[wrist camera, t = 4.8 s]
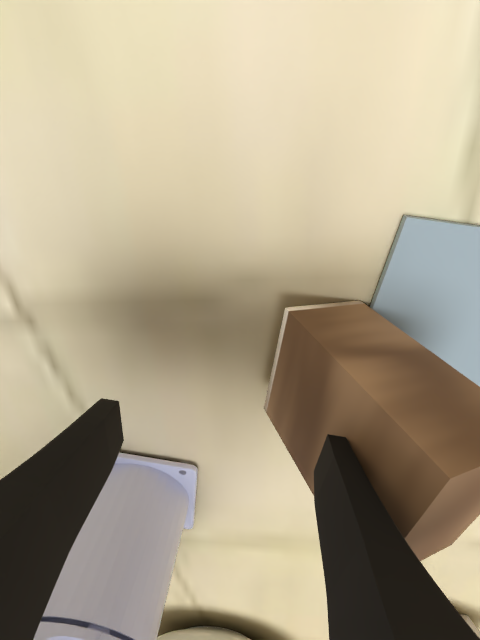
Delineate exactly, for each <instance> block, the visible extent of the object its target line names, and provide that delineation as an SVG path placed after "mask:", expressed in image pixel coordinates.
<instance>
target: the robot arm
mask: <svg viewBox="0 0 480 640" xmlns="http://www.w3.org/2000/svg"><path fill="white" fill-rule="evenodd" d="M123 441H124V439H123V431H122V423H121V414H120V406H119V401H114V400H108V399H100V400H99V401H98V402H97V403H95V404H94V405H93V406H92V407H91V408H90V409H88V410H87V411H86V412H85V413H84V414H83V415H82V416H80V417H79V418H78V419H77V420H76V421H75V422H73V423H72V424H71V425H70V426H69V427H68V428H66V429H65V430H64V431H63V432H62V433H60V434H59V435H58V436H57V437H56V438H54V439H53V440H52V441H51V442H49V443H48V444H47V445H46V446H45V447H43V448H42V449H41V450H40V451H38V452H37V453H36V454H34V455H33V456H32V457H30V458H29V459H28V460H27V461H25V462H24V463H23V464H21V465H20V466H19V467H17V468H16V469H15V470H13V471H12V472H11V473H9V474H8V475H6V476H5V477H4V478H2V479H1V480H0V640H157V636H158V631H159V627H160V623H161V619H162V615H163V611H164V606H165V602H166V598H167V594H168V590H169V586H170V581H171V577H172V573H173V569H174V565H175V560H176V556H177V552H178V548H179V544H180V540H181V535H182V531H183V528H184V529H191V528H193V525H194V515H195V502H196V488H197V475H198V469H197V467H196V466H194V465H191V464H186V463H180V462H174V461H168V460H161V459H155V458H149V457H143V456H137V455H131V454H125V453H119V451H120V449H121V446H122V443H123ZM314 501H315V510H316V518H317V525H318V533H319V540H320V547H321V554H322V561H323V569H324V576H325V584H326V593H327V606H328V624H329V640H480V638H479V637H478V636H477V635H476V633H475V632H474V631H473V630H472V629H471V627H470V626H469V625H468V624H467V622H466V621H465V620H464V619H463V618H462V616H461V615H460V614H459V613H458V611H457V610H456V609H455V608H454V606H453V605H452V604H451V603H450V601H449V600H448V599H447V597H446V596H445V595H444V593H443V592H442V591H441V589H440V588H439V587H438V585H437V584H436V583H435V581H434V580H433V579H432V577H431V576H430V575H429V573H428V572H427V570H426V569H425V568H424V566H423V565H422V563H421V562H420V561H419V559H418V558H417V556H416V555H415V553H414V552H413V551H412V549H411V548H410V546H409V545H408V543H407V542H406V540H405V539H404V537H403V535H402V534H401V532H400V531H399V529H398V528H397V526H396V525H395V523H394V522H393V520H392V518H391V517H390V515H389V513H388V512H387V510H386V509H385V507H384V505H383V503H382V502H381V500H380V498H379V497H378V495H377V493H376V492H375V490H374V488H373V486H372V485H371V483H370V481H369V479H368V477H367V476H366V474H365V472H364V470H363V468H362V466H361V465H360V463H359V461H358V459H357V457H356V455H355V453H354V451H353V449H352V447H351V445H350V443H349V441H348V440H347V438H346V437H342V436H336V435H329V434H327V437H326V440H325V442H324V445H323V448H322V450H321V453H320V456H319V458H318V461H317V464H316V466H315V469H314Z"/></svg>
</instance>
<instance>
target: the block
mask: <svg viewBox="0 0 480 640" xmlns="http://www.w3.org/2000/svg"><path fill="white" fill-rule="evenodd" d="M264 409H265V411H266V413H267V415H268V416H269V418H270V420H271V422H272V423H273V425H274V427H275V429H276V430H277V432H278V434H279V436H280V437H281V439H282V441H283V443H284V444H285V446H286V448H287V450H288V451H289V453H290V455H291V457H292V458H293V460H294V462H295V464H296V465H297V467H298V469H299V471H300V472H301V474H302V476H303V478H304V479H305V481H306V483H307V485H308V486H309V488H310V490H311V492H312V493H313V495H314V469H315V466H316V464H317V461H318V458H319V456H320V453H321V450H322V448H323V445H324V442H325V440H326V437H327V434H329V435H336V436H342V437H346V438H347V440H348V441H349V443H350V445H351V447H352V449H353V451H354V453H355V455H356V457H357V459H358V461H359V463H360V465H361V466H362V468H363V470H364V472H365V474H366V476H367V477H368V479H369V481H370V483H371V485H372V486H373V488H374V490H375V492H376V493H377V495H378V497H379V498H380V500H381V502H382V503H383V505H384V507H385V509H386V510H387V512H388V513H389V515H390V517H391V518H392V520H393V522H394V523H395V525H396V526H397V528H398V529H399V531H400V532H401V534H402V535H403V537H404V539H405V540H406V542H407V543H408V545H409V546H410V548H411V549H412V551H413V552H414V553H415V555H416V556H417V558H418V559H419V561H421V560H423V559H425V558H427V557H429V556H431V555H433V554H435V553H437V552H439V551H440V550H442V549H444V548H446V547H448V546H450V545H452V544H453V543H454V541H455V540H456V539H457V538H458V537H459V536H460V535H461V534H462V533H463V532H464V531H465V530H466V529H467V527H468V526H469V525H470V524H471V523H472V522H473V521H474V520H475V519H476V518H477V517H478V516H479V515H480V387H479V386H478V385H477V384H475V383H474V382H472V381H471V380H470V379H468V378H467V377H466V376H464V375H463V374H461V373H460V372H459V371H457V370H456V369H454V368H453V367H452V366H450V365H449V364H448V363H446V362H445V361H443V360H442V359H441V358H439V357H438V356H436V355H435V354H434V353H432V352H431V351H429V350H428V349H427V348H425V347H424V346H423V345H421V344H420V343H418V342H417V341H416V340H414V339H413V338H411V337H410V336H409V335H407V334H406V333H405V332H403V331H402V330H400V329H399V328H398V327H396V326H395V325H393V324H392V323H391V322H389V321H388V320H387V319H385V318H384V317H382V316H381V315H380V314H378V313H377V312H375V311H374V310H373V309H371V308H370V307H369V306H367V305H366V304H364V303H363V302H362V301H360V300H359V301H349V302H338V303H328V304H317V305H307V306H297V307H286V308H285V311H284V316H283V321H282V325H281V330H280V335H279V339H278V344H277V349H276V353H275V358H274V363H273V368H272V372H271V377H270V382H269V386H268V391H267V396H266V400H265V405H264Z"/></svg>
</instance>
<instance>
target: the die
mask: <svg viewBox="0 0 480 640" xmlns="http://www.w3.org/2000/svg"><path fill="white" fill-rule="evenodd" d="M460 615H461V616H462V618H463V619H464V620H465V621H466V622H467V624H468V625H469V626H470V627H471V629H472V630H473V631H474V632H475V633H476V635H477V636H478V637H479V638H480V631H479V630H478V629H477V627H476V626H475V625H474V623H473V622H472V621H471V619H470V618H469V616H468V615H462V614H460Z"/></svg>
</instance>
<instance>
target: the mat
mask: <svg viewBox="0 0 480 640" xmlns="http://www.w3.org/2000/svg"><path fill="white" fill-rule="evenodd" d="M370 308H371V309H373V310H374V311H375V312H377V313H378V314H380V315H381V316H382V317H384V318H385V319H387V320H388V321H389V322H391V323H392V324H393V325H395V326H396V327H398V328H399V329H400V330H402V331H403V332H405V333H406V334H407V335H409V336H410V337H411V338H413V339H414V340H416V341H417V342H418V343H420V344H421V345H423V346H424V347H425V348H427V349H428V350H429V351H431V352H432V353H434V354H435V355H436V356H438V357H439V358H441V359H442V360H443V361H445V362H446V363H448V364H449V365H450V366H452V367H453V368H454V369H456V370H457V371H459V372H460V373H461V374H463V375H464V376H466V377H467V378H468V379H470V380H471V381H472V382H474V383H475V384H477V385H478V386H479V387H480V226H479V225H472V224H465V223H458V222H450V221H443V220H436V219H429V218H422V217H414V216H407V215H403V218H402V220H401V223H400V226H399V229H398V231H397V234H396V237H395V239H394V242H393V245H392V248H391V250H390V253H389V256H388V258H387V261H386V264H385V267H384V269H383V272H382V275H381V277H380V280H379V283H378V286H377V288H376V291H375V294H374V296H373V299H372V302H371V305H370Z"/></svg>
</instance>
